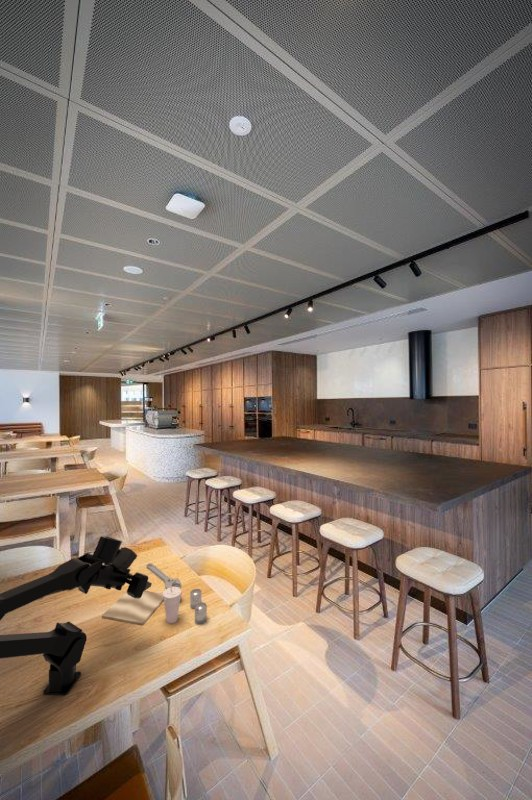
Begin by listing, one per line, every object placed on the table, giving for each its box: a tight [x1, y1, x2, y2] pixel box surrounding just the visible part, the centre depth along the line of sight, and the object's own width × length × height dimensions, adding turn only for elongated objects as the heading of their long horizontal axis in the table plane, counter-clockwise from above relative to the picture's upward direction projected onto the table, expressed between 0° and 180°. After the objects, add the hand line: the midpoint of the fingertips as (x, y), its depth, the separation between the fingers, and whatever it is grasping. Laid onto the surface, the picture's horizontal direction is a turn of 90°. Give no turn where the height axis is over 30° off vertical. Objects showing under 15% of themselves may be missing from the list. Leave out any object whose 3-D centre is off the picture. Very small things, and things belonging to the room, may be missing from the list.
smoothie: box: [162, 579, 183, 624], centre depth 112 cm, size 6×6×14 cm
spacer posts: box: [172, 585, 208, 625], centre depth 118 cm, size 8×19×5 cm, turn 48°
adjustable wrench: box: [146, 563, 182, 590], centre depth 139 cm, size 25×6×2 cm, turn 41°
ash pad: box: [101, 590, 164, 626], centre depth 119 cm, size 16×16×1 cm
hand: (141, 580), depth 109 cm, fingers open, 9 cm apart
